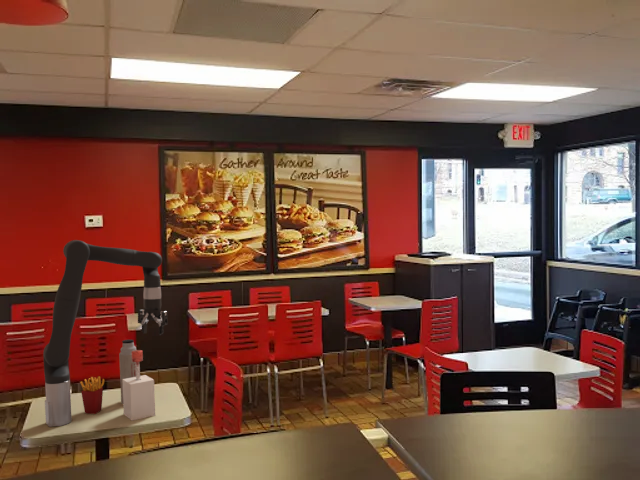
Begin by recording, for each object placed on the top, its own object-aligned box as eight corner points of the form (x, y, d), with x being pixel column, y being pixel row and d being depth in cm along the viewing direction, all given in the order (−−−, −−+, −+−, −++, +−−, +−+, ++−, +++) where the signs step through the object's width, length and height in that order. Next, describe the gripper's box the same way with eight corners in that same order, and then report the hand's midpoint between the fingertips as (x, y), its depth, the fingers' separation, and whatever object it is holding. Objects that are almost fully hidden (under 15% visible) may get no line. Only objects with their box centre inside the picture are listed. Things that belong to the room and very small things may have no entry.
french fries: (95, 414, 254) (94, 379, 254) (78, 414, 256) (76, 379, 255) (107, 408, 263) (105, 374, 262) (90, 407, 265) (88, 373, 264)
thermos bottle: (143, 400, 272) (141, 339, 270) (128, 405, 265) (125, 342, 264) (132, 397, 277) (130, 337, 275) (117, 402, 270) (115, 340, 269)
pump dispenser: (131, 420, 246) (130, 384, 245) (123, 414, 254) (122, 379, 253) (155, 415, 252) (154, 379, 251) (146, 409, 260) (145, 374, 259)
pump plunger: (135, 400, 250) (133, 353, 249) (131, 398, 253) (130, 351, 252) (145, 398, 252) (144, 351, 251) (142, 396, 256) (140, 349, 255)
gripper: (133, 297, 263) (134, 334, 264) (160, 299, 258) (161, 336, 259) (144, 295, 270) (144, 331, 271) (171, 297, 265) (171, 333, 266)
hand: (152, 333), depth 265 cm, fingers open, 8 cm apart
